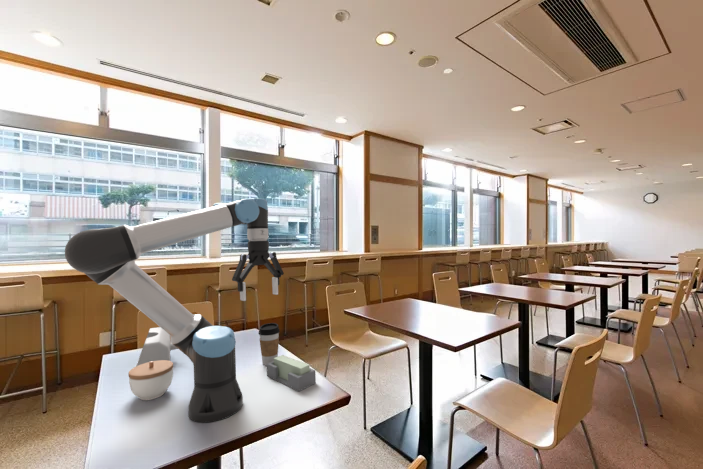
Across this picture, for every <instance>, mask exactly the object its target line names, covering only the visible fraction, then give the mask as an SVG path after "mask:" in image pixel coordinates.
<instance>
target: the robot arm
mask: <svg viewBox="0 0 703 469" xmlns="http://www.w3.org/2000/svg"><path fill="white" fill-rule="evenodd" d="M268 208H269V206H268V201H267V200H266V198H263V197H262V198H259V197H257V198H255V197H254V198H253V197H252V198H241V199H237V200H235V201H230V202H214V203H213V204H212V206H210V207H207V208H201V209H198V210H195V211H190V212H187V213H182V214H178V215H174V216H170V217H166V218H162V219H158V220H154V221H151V222H146V223H142V224H137V225H134V226H133V225H132V226H129V225H127V224H121V225H118V226H112V227H106V228H105V227H104V228H92V229H91V228H90V229H86V230H82V231H80V232H77V233H76V234H74V235H73V236H72V237H71V238H70V239H69V240H68V241H67V242H66V244H65V248H64V257H65V260H66V262H67V263H68V265H69V266H71V268H72V269H74V270H75V271H77V272H80V273H83V274H85V275H86V276H87V277H88V278H89V279H91V280H92V281H93V282H94V283H96V284H97V285H107V286H109V287H110V288H112V289H113V290H114V291H116V292H117V293H118V294H119V295H120V296H121V297H123V298H124V299H125V300H127V301H128V302H129V303H130V304H131V305H132V306H134V307H135V308H136V309H138V311H140V312H141V313H142V314H144V315H145V316H146V317H147V318H149V319H150V320H151V321H152V322H153V323H155V324H156V325H157V326H158V327H161V328H162V329H163V330H165V331H166V332H167V333H168V334H170V336H171V343H172V344H173V345H174V346H176V347H177V348H178V349H177V350H178V351H180V352H182V353H183V354H184V355H185V356H186V357H187V358H188V359H189V360H190V362H191V363H192V364H193V385H194V386H193V390H192V394H191V396H190V397H191V398H190V400H189V403H188V407H187V408H188V414H187V416H188V417H189V419H190V420H192V421H194V422H197V423H211V422H212V423H213V422H216V421H217V422H218V421H221V420H224V419H227V418H229V417H231V416H232V415H235V413H237V412H239V410H241V408H242V407H243V405H244V404H243V403H244V399H243V398H244V396H243V392H242V390H241V388H240V385H239V383H238V380H237V368H236V367H237V365H236V360H237V359H236V358H237V357H236V343H237V342H236V338H235V332H234V330H233V329H232V328H230V327H229V326H222V325H213V324H212V323H211V322H210V321H208V320H207V319H206V318H205V317H204V316H203V315H202V314H200V313H197V314H193V313H192V312H191V311H189V309H187V308H186V307H185V306H184V305H183V304H181V303H180V302H179V301H178V300H177V299H176V298H175V297H174V296H173V295H171V293H169V292H168V291H167V290H166V289H165V288H164V287H162V286H161V285H160V284H159V283H158V282H157V281H155V280H154V279H153V278H152V277H151V276H150V275H149V274H148V273H146V272H145V271H144V270H143V269H142V268H141V267H140V266H138V265H137V264H136V260H139V258H140V256H142V254H146V253H149V252H153V251H155V250H159V249H163V248H165V247H170V246H172V245H175V244H180V243H183V242H185V241H189V240H193V239H195V238H198V237H202V236H205V235H208V234H209V235H210V234H213V233H216V232H219V231H222V230H227V229H229V228H233V227H237V226H241V225H246V232H247V236H246V237H247V240H248V242H247V251H248V254H243V253H241V254H240V255H239V261H238V264H237V266H236V268H235V271H234V273H233V276H232V278H231V280H232V281H233V282H236V283H237V292H239V300H240V301H242V302H246V301H247V293H246V289H247V288H246V287H247V286H246V282H245V279H246V278H247V277H248V275H249V274H250V272H251V271H252V269H253V268H254V267H255V266H264V267H266V269H267V270H268V271H269V272H270V273H271V275H272V277H271V286H272V295H276V296H277V295H279V286H280V278H281V277H282V276H284V270H283V268H282V266H281V264H280V262H279V260H278V257H277V253H276V252H275V251H270V252H269V249H270V246H269V245H270V241H269V216H268V215H269V209H268ZM269 259H270V260H269ZM247 260H248V262H247ZM245 265H246V266H245ZM244 267H245V268H244Z"/></svg>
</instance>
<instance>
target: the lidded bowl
mask: <svg viewBox="0 0 703 469" xmlns="http://www.w3.org/2000/svg"><path fill="white" fill-rule="evenodd" d="M173 377H174V362H173V361H171V360H169V361H168V360H158V361H150V362H147V363H144V364H141V365H138V366H134V367H133V368H131V369H130V370H129V371H128V380H129V381H128V383H129V388H130V392H131V393H132V394H133V395H134V396H135V397H137V398H139V400H141V401H150V400H151V401H152V400H155V399H157V398H160V397H162V396H163V395H165V393H166V392H167V390H168V389H169V387H170V386H171V383H172V381H173Z"/></svg>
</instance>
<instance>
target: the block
mask: <svg viewBox="0 0 703 469" xmlns="http://www.w3.org/2000/svg"><path fill="white" fill-rule="evenodd" d="M274 365H275V366H277V367H278V376H279V377H281V378H283V379H286V380H288V373H290V372H291V373H293V374H295V375H297V376H300V375H302V374H304V373H307V372H309V371H310V366H311V364H309V363H307V362H303V361H300V360H298V359H295V358H293V357H292V358H291V357H289V356H287V355H284V354H280V355H278V357H276V358H274Z"/></svg>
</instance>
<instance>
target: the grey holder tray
mask: <svg viewBox="0 0 703 469" xmlns="http://www.w3.org/2000/svg"><path fill="white" fill-rule="evenodd" d="M266 377H268V378H270V379H272V380H275V381H276V382H279V383H281V384H283V385H284V386H286V387H288V388H290V389H292V390H294V391H297V392H301V391H302V390H305V389H306V388H309V387H311V386H313V385H315V384H316V383H317V382H316V370H315V369H313V368H310V371H309V372H307V373H304V374H302V375H300V376H297V375H295V374H293V373H291V372H290V373H288V380H286V379H283V378H281V377H279V376H278V367H277V366H275V365H274V361H273V362H270V363H267V365H266Z"/></svg>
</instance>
